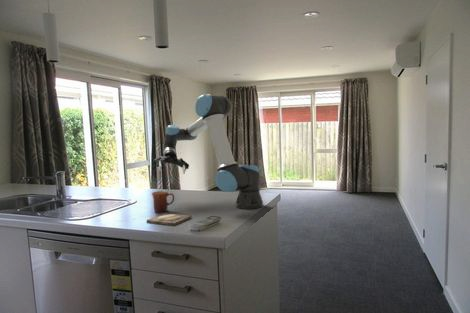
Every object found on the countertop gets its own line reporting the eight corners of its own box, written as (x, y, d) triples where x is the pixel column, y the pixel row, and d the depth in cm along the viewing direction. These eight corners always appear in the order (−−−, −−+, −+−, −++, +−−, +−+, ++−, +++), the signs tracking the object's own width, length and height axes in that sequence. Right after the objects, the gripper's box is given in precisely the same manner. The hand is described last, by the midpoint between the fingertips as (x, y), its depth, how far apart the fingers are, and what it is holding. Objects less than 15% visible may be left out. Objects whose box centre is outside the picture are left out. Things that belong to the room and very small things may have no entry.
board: (191, 218, 163) (191, 215, 163) (174, 225, 151) (174, 222, 151) (165, 215, 170) (164, 212, 170) (146, 222, 158) (146, 219, 158)
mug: (151, 213, 176) (150, 194, 175) (154, 209, 185) (153, 191, 184) (173, 212, 176) (172, 193, 176) (176, 208, 185) (175, 190, 184)
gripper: (188, 163, 207) (193, 178, 188) (148, 158, 199) (148, 173, 180) (191, 152, 204) (195, 166, 186) (150, 146, 197) (150, 160, 178)
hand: (172, 170), depth 183 cm, fingers open, 13 cm apart
